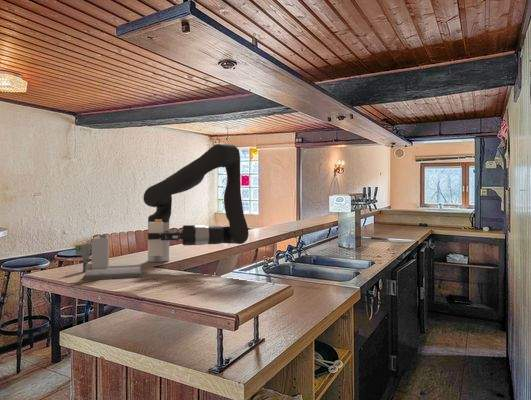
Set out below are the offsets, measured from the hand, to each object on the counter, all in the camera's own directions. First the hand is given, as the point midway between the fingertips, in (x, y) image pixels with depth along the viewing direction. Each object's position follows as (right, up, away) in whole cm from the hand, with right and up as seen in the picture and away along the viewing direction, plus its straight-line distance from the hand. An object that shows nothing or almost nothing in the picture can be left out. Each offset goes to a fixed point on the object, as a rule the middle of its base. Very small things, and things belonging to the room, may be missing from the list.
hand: (148, 235), depth 139 cm
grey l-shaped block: (-10, -13, -7) cm, 18 cm away
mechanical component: (-24, -14, +3) cm, 28 cm away
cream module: (+2, -7, +1) cm, 8 cm away
